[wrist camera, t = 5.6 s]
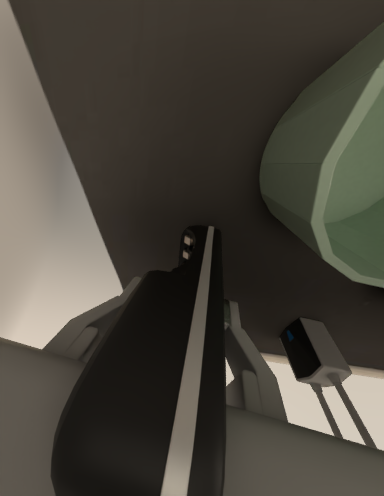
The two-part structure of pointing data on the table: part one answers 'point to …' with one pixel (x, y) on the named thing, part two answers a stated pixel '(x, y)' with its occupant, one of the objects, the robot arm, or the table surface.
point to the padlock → (320, 367)
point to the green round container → (334, 164)
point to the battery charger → (153, 389)
